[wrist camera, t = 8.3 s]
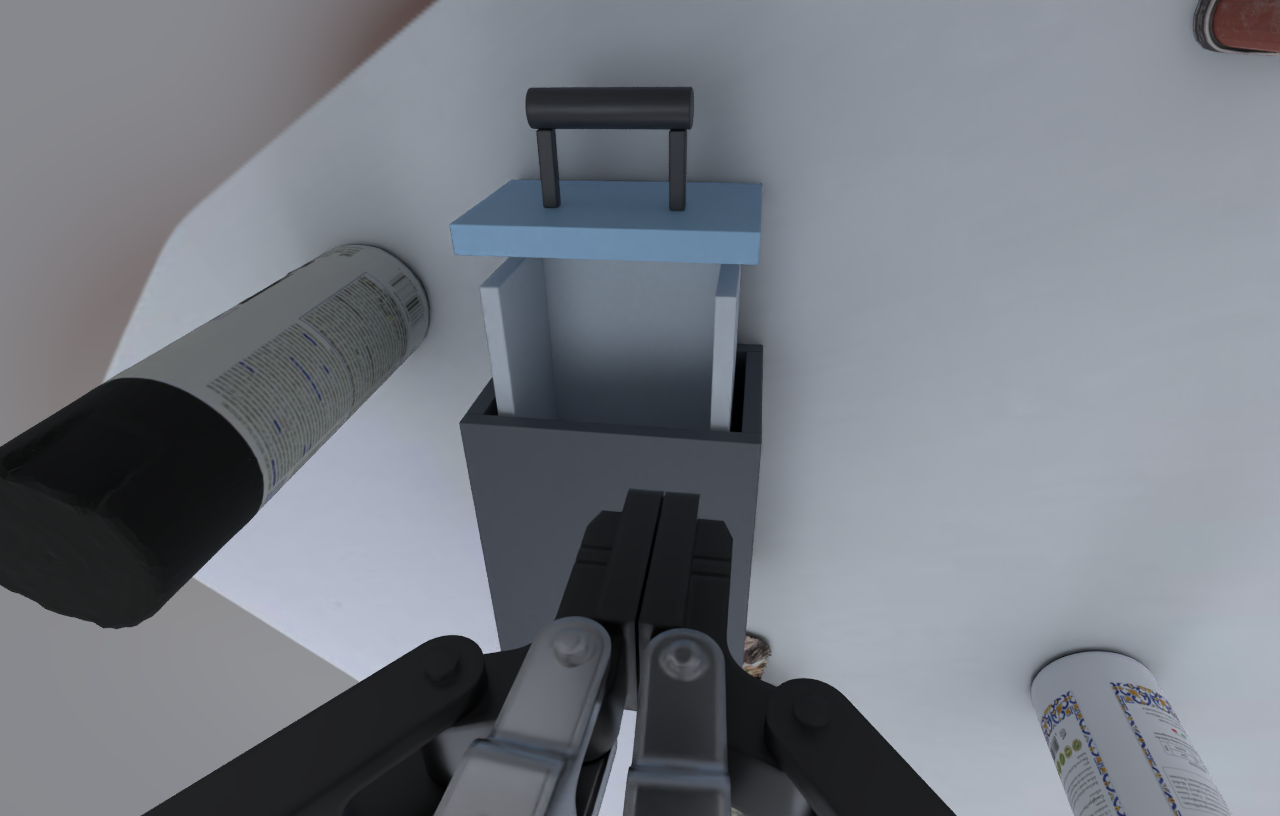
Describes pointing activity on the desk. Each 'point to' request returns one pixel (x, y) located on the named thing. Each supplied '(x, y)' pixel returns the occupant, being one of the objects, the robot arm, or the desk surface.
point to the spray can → (198, 437)
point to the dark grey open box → (601, 494)
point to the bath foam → (1119, 740)
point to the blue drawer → (614, 275)
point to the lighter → (1239, 26)
